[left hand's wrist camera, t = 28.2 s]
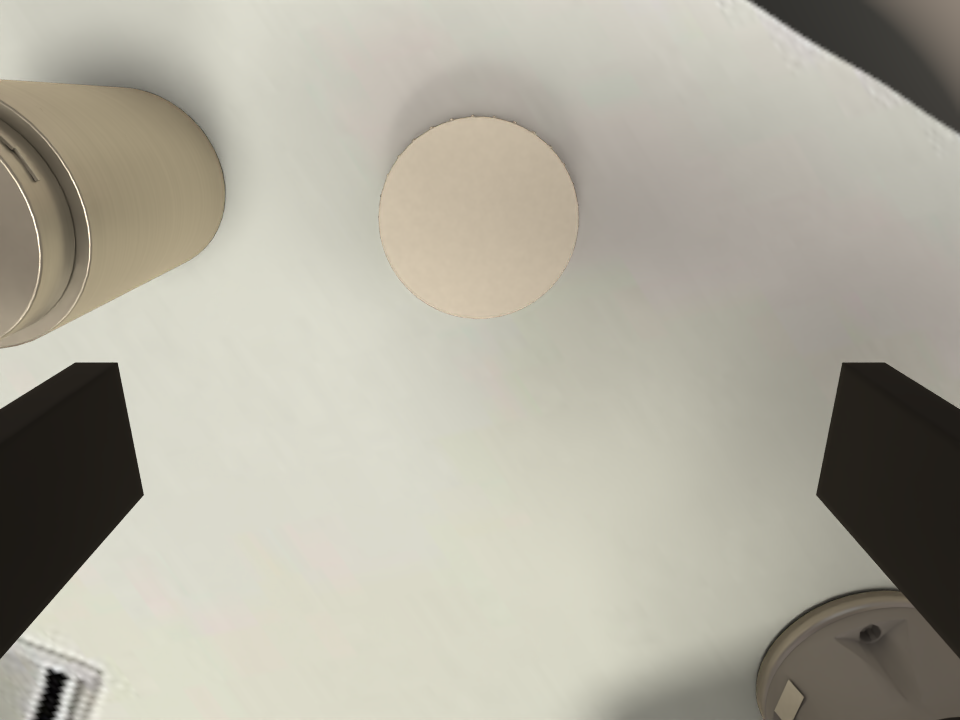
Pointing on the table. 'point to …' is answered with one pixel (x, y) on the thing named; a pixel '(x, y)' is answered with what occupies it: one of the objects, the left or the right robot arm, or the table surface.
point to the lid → (478, 217)
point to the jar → (95, 199)
